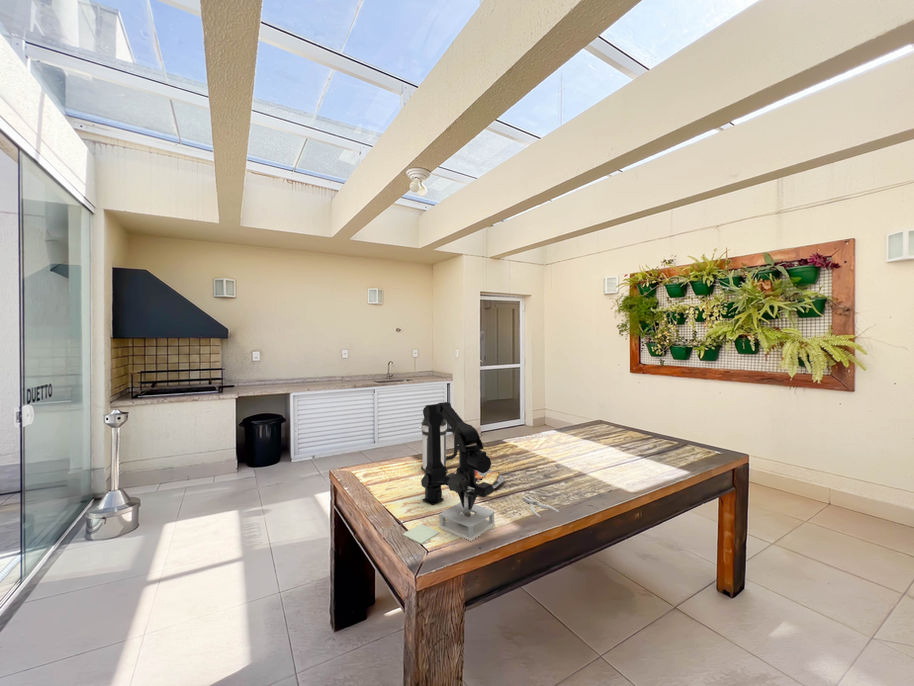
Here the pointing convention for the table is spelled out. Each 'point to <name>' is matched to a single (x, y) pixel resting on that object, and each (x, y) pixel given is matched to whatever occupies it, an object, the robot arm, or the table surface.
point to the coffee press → (443, 444)
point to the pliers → (532, 502)
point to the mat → (421, 533)
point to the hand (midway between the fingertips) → (467, 508)
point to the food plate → (489, 478)
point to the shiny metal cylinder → (466, 504)
